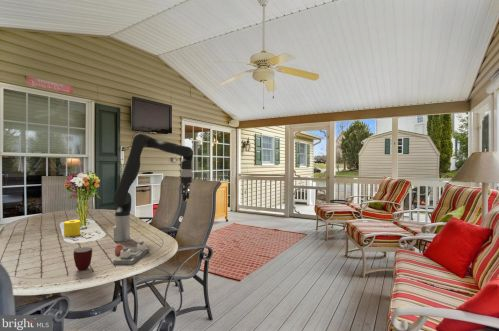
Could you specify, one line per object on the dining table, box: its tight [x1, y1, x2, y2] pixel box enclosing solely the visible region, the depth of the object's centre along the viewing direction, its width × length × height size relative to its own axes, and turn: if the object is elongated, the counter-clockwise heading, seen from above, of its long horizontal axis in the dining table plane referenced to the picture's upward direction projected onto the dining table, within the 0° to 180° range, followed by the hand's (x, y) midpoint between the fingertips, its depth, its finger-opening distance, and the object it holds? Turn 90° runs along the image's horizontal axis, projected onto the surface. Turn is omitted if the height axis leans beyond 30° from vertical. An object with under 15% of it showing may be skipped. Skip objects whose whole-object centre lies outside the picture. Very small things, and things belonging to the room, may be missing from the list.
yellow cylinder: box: [63, 219, 81, 237], centre depth 202 cm, size 10×10×9 cm
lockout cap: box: [114, 243, 124, 257], centre depth 162 cm, size 4×4×6 cm
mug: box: [73, 246, 93, 272], centre depth 140 cm, size 10×8×10 cm
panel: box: [113, 246, 149, 266], centre depth 157 cm, size 10×22×3 cm, turn 178°
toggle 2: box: [136, 240, 147, 251], centre depth 163 cm, size 4×3×4 cm
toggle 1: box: [120, 247, 130, 258], centre depth 151 cm, size 4×3×4 cm
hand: (185, 199), depth 187 cm, fingers open, 8 cm apart
